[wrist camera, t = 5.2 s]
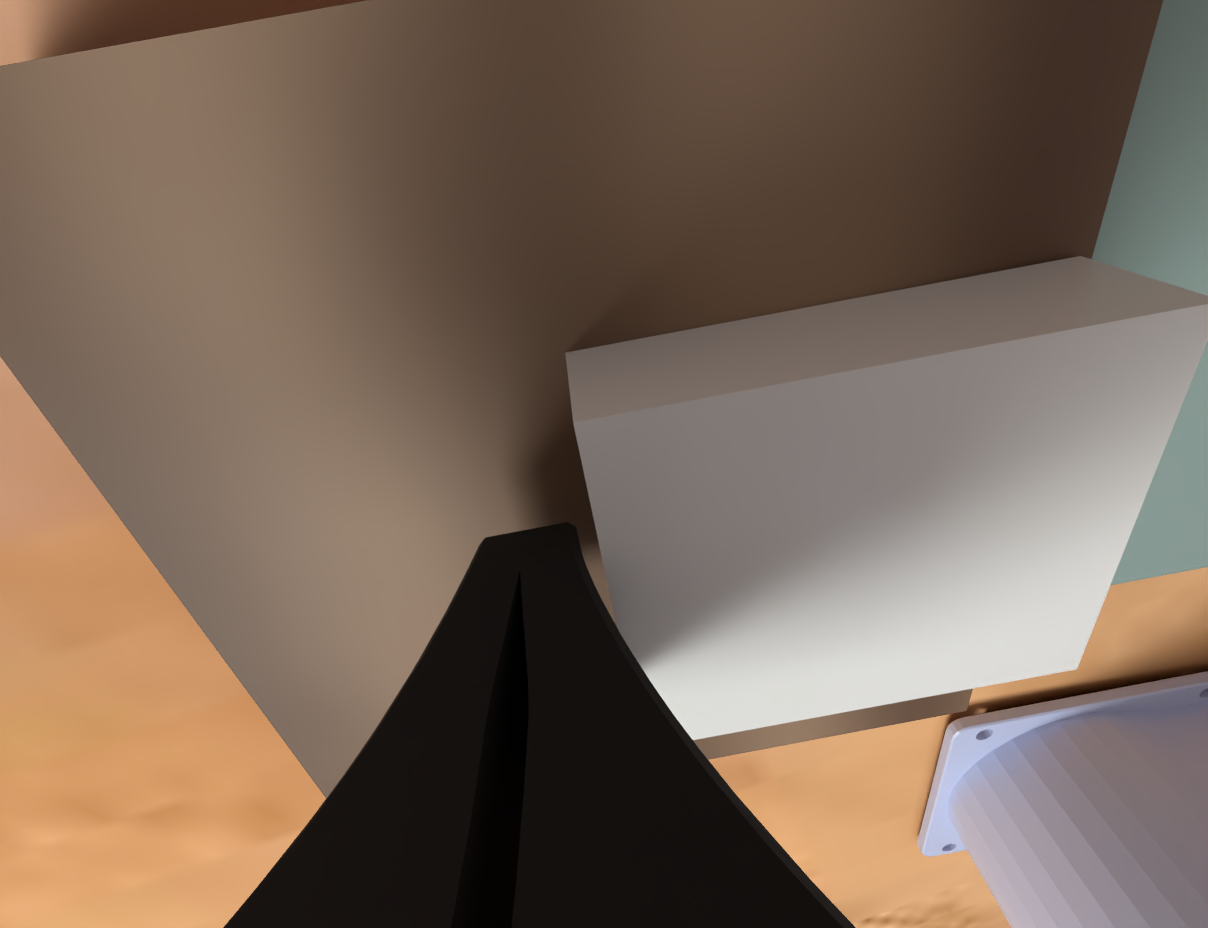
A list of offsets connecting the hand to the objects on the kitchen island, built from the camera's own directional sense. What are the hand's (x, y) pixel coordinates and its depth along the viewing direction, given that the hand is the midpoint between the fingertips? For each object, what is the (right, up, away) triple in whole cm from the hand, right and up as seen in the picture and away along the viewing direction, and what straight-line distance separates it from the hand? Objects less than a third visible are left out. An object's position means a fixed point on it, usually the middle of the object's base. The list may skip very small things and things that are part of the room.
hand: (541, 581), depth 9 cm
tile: (+4, +1, +1) cm, 5 cm away
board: (+1, +2, +3) cm, 4 cm away
